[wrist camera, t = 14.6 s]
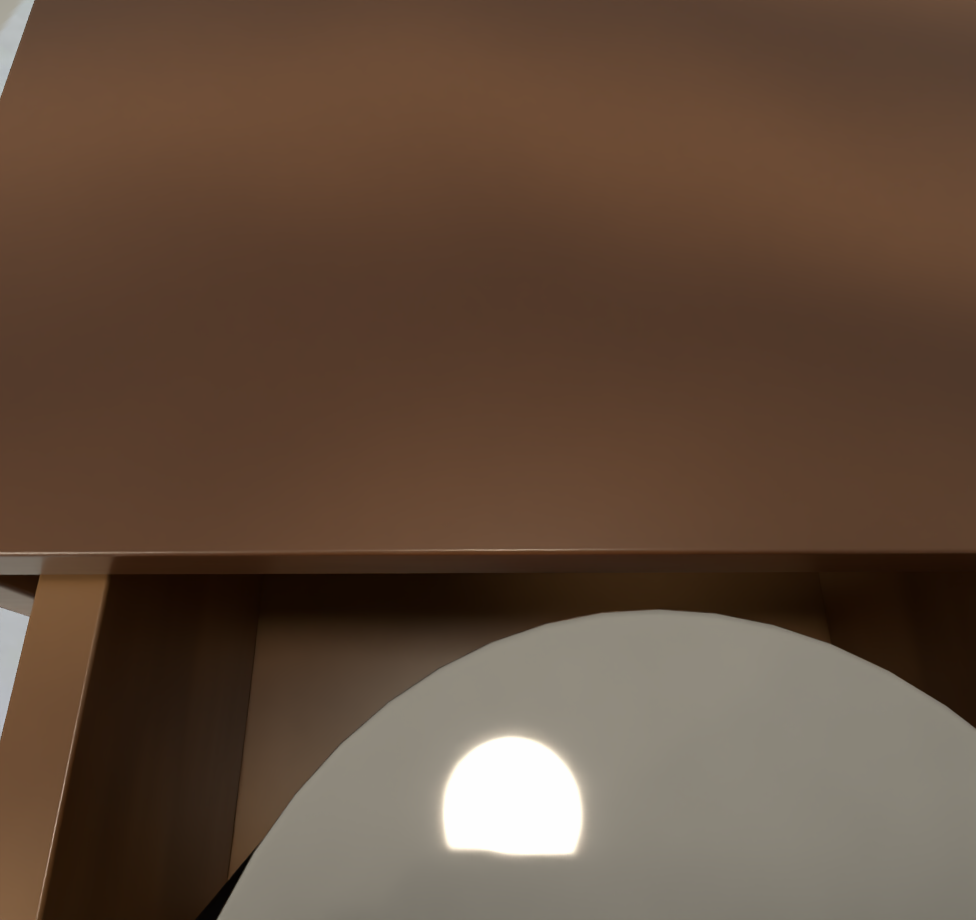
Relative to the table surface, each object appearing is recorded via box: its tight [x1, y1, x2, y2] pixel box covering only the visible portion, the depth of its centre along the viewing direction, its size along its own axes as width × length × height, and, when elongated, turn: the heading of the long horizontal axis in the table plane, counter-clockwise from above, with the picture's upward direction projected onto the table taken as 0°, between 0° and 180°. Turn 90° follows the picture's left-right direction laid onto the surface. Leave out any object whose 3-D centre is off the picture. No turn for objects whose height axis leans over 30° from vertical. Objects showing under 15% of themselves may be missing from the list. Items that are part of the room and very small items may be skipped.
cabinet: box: [0, 0, 976, 617], centre depth 14 cm, size 16×15×9 cm
